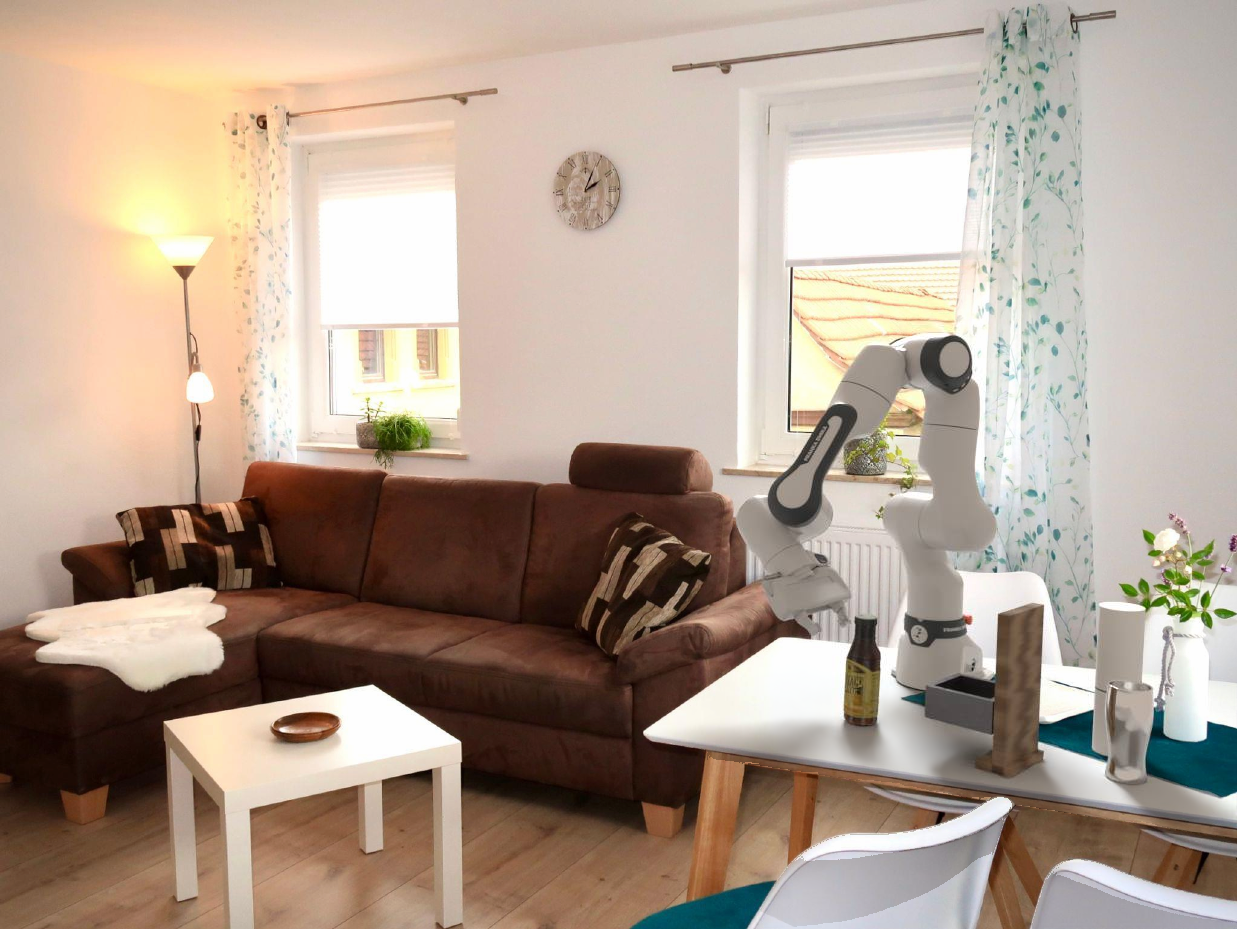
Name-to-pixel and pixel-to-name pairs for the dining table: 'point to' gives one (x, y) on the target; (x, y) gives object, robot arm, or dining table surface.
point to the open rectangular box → (962, 702)
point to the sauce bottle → (862, 673)
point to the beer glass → (1128, 729)
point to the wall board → (1016, 692)
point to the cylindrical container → (1116, 658)
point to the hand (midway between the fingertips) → (832, 629)
